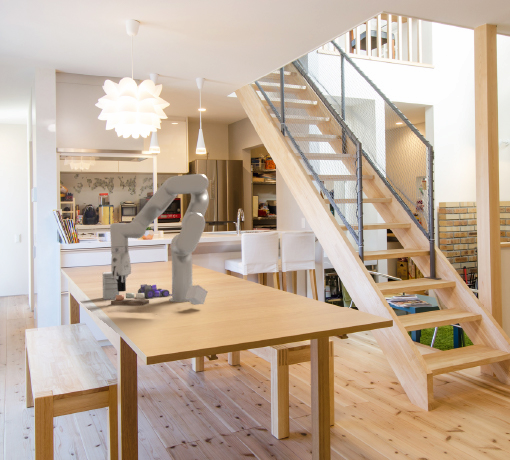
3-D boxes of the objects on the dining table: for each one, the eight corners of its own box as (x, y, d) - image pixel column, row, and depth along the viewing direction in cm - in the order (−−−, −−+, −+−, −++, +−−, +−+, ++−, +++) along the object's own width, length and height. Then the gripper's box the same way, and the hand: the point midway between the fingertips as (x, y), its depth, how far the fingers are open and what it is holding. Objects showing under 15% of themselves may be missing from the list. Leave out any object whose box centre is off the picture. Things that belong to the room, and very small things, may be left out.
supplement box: (102, 298, 235) (102, 272, 236) (118, 297, 238) (117, 271, 238) (103, 299, 229) (103, 273, 229) (119, 298, 231) (119, 272, 231)
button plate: (149, 303, 215) (149, 299, 215) (143, 305, 209) (143, 301, 209) (117, 302, 219) (117, 299, 219) (110, 304, 213) (110, 301, 213)
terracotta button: (125, 299, 217) (125, 294, 217) (121, 300, 213) (121, 295, 213) (118, 299, 217) (118, 294, 217) (114, 300, 214) (114, 295, 214)
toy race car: (173, 296, 239) (173, 283, 239) (146, 299, 230) (146, 286, 230) (164, 294, 247) (164, 282, 247) (137, 297, 238) (137, 284, 238)
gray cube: (184, 298, 207) (189, 286, 210) (193, 304, 210) (198, 292, 213) (194, 297, 203) (198, 285, 206) (203, 303, 207) (207, 291, 210)
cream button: (145, 297, 214) (145, 293, 214) (142, 298, 211) (142, 294, 211) (138, 297, 215) (138, 293, 215) (134, 298, 212) (134, 294, 212)
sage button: (135, 297, 215) (135, 292, 215) (131, 298, 212) (131, 293, 212) (128, 297, 216) (128, 292, 216) (124, 298, 213) (124, 293, 213)
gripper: (119, 251, 207) (121, 293, 207) (135, 249, 222) (137, 288, 222) (103, 251, 209) (105, 293, 209) (120, 249, 224) (122, 289, 224)
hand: (121, 291), depth 216 cm, fingers closed
